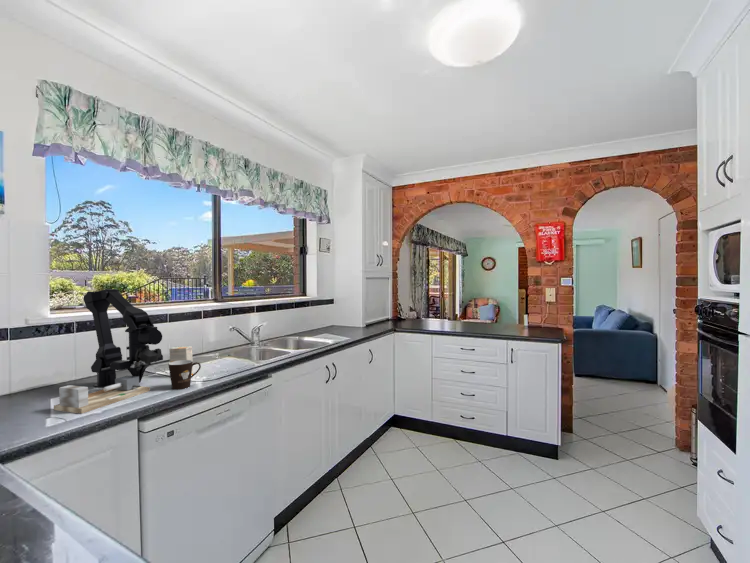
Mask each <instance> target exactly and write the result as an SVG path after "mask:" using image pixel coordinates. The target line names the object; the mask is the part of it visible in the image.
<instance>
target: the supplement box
mask: <svg viewBox="0 0 750 563" xmlns="http://www.w3.org/2000/svg"><path fill="white" fill-rule="evenodd" d="M168 350H169V353H168V354H169V363H170V362H174V361H180V360H192V361H193V363H194V360H193V346H189V345H187V346H182V345H181V346H173V347H169V348H168ZM193 363H192V364H193ZM193 374H194V365H193V366H192V373H191V375H193Z"/></svg>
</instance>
